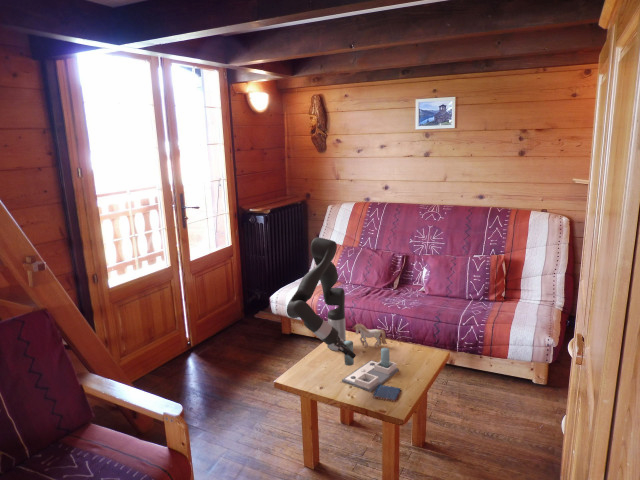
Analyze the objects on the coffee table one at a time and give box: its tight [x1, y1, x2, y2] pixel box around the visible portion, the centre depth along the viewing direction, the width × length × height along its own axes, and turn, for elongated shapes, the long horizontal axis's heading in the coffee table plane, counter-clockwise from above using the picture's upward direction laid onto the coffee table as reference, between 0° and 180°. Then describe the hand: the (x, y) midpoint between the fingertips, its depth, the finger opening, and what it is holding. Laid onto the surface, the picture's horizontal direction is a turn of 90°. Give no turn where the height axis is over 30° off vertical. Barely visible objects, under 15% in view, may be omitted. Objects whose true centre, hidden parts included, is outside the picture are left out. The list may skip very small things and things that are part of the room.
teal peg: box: [343, 340, 355, 366], centre depth 201 cm, size 4×4×10 cm
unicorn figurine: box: [352, 323, 388, 349], centre depth 243 cm, size 7×20×13 cm, turn 99°
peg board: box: [341, 347, 400, 393], centre depth 212 cm, size 16×24×11 cm, turn 140°
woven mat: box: [372, 384, 402, 403], centre depth 197 cm, size 10×11×2 cm
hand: (353, 354), depth 201 cm, fingers closed on teal peg, 4 cm apart
